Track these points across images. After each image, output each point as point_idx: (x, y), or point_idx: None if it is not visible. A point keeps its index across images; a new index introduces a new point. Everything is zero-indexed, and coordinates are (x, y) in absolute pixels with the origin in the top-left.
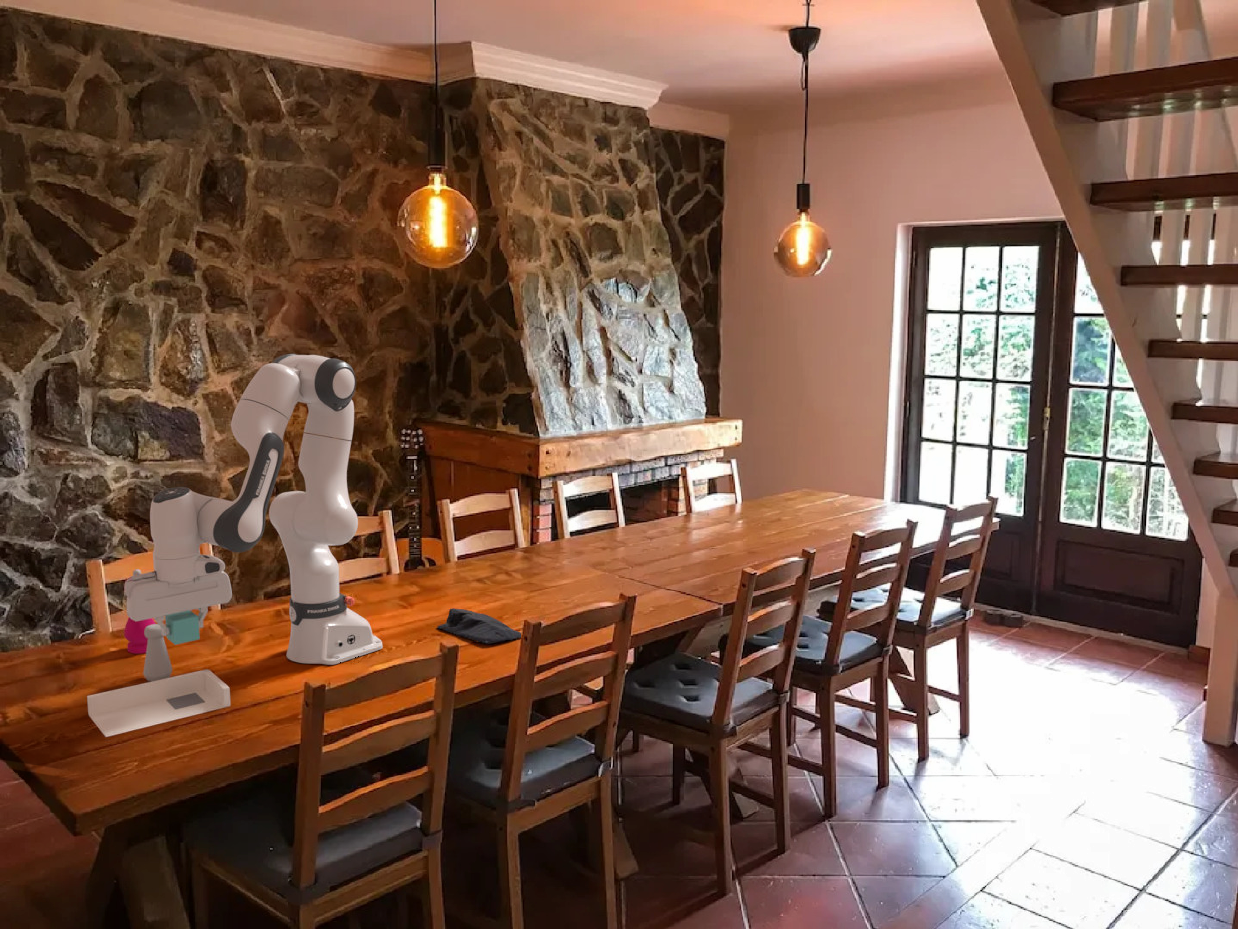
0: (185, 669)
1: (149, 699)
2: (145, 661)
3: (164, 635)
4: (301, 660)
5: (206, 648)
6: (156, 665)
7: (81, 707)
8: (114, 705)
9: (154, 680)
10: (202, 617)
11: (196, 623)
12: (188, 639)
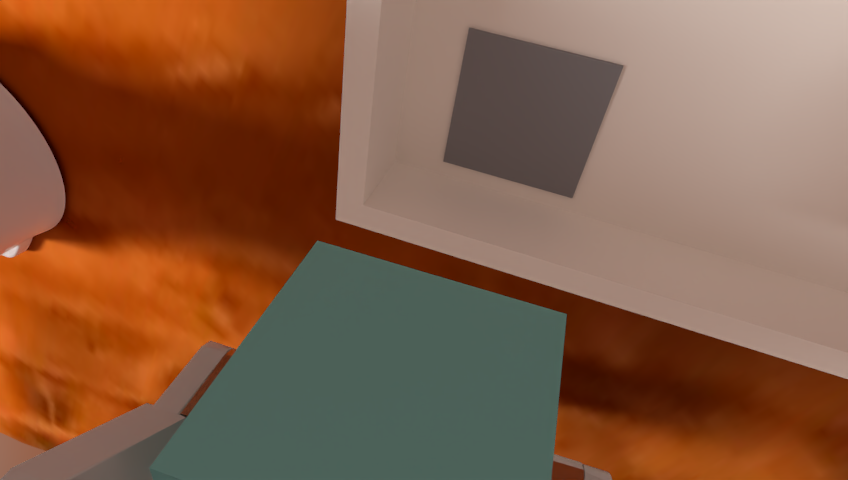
0: None
1: (635, 239)
2: None
3: (610, 476)
4: (13, 113)
5: None
6: None
7: (781, 406)
8: (800, 294)
9: None
10: (131, 434)
11: (240, 387)
12: (419, 289)
